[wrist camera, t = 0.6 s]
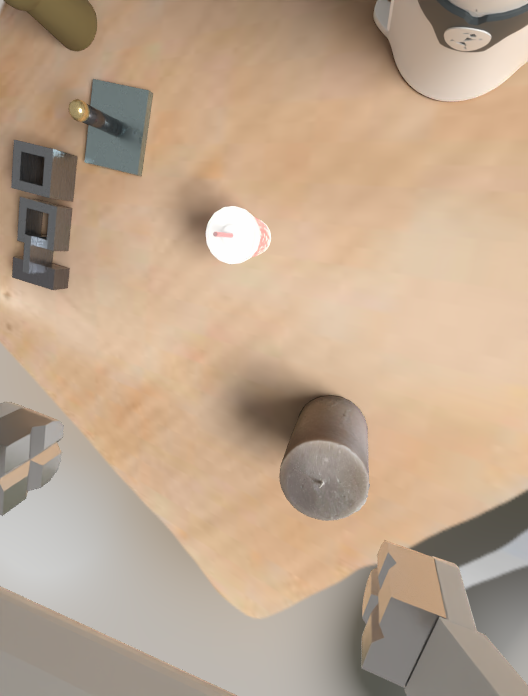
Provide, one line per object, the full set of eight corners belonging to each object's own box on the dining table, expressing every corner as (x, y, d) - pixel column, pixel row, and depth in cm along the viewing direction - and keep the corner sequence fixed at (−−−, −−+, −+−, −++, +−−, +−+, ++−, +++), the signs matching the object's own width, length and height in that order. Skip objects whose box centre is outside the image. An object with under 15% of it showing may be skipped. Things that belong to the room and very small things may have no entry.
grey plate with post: (98, 82, 53) (45, 50, 45) (153, 93, 52) (110, 62, 43) (89, 163, 56) (38, 148, 47) (141, 176, 55) (99, 163, 46)
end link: (40, 147, 57) (14, 139, 53) (77, 156, 56) (53, 149, 52) (37, 192, 59) (11, 187, 55) (73, 201, 58) (49, 197, 54)
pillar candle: (287, 442, 59) (263, 505, 44) (312, 383, 56) (294, 430, 41) (352, 470, 57) (348, 544, 43) (380, 411, 54) (386, 470, 40)
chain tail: (33, 198, 59) (8, 194, 55) (75, 209, 58) (52, 206, 54) (28, 276, 63) (4, 277, 59) (67, 288, 61) (45, 291, 57)
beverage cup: (223, 247, 54) (176, 247, 41) (244, 203, 52) (201, 189, 39) (263, 270, 54) (228, 277, 40) (285, 227, 52) (256, 220, 38)
